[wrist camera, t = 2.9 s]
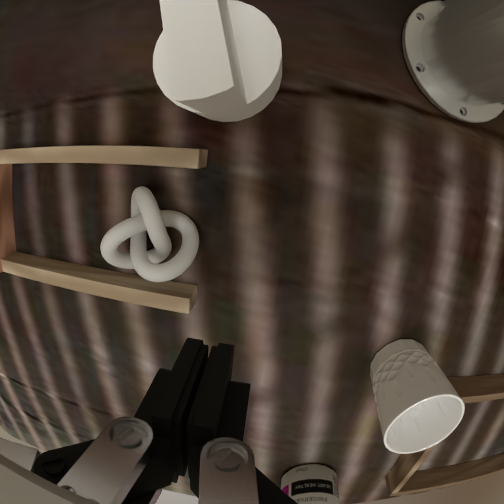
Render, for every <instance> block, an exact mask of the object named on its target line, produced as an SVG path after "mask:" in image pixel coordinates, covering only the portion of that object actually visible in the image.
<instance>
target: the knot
mask: <svg viewBox="0 0 504 504" xmlns="http://www.w3.org/2000/svg"><path fill="white" fill-rule="evenodd" d="M166 227H173V228H176V229H178V230H179V231H180V233H181V235H182V245H181V248H180V250H179V251H178V253H177V254H176V255H175V256H174V257H173V258H172V259H171V260H169V261H168V262H165V263H162V264H158V263H160V262H162V261H163V260H165V259H166V258H167V257H168V256H169V254H170V252H171V249H172V244H171V240H170V238H169V236H168V233H167V230H166ZM146 230H147V232H148V235H149V237H150V239H151V241H152V243H153V245H154V247H155V248H153V249H151V250H149V251H147V249H146ZM130 237H131V240H130V253H126V252H122V251H120V250H118V249H117V247H118V246H119V245H120V244H121V243H122V242H123V241H125V240H126V239H128V238H130ZM198 247H199V234H198V230H197V228H196V226H195V224H194V223H193V221H192V220H191V219H190V218H189V217H187V216H186V215H184V214H183V213H180V212H177V211H173V210H159V207H158V204H157V202H156V200H155V198H154V196H153V194H152V192H151V191H150V190H149V189H148V188H146V187H143V186H142V187H138V188H136V189H135V190H134V192H133V194H132V198H131V218H129V219H126V220H124V221H122V222H120V223H119V224H117V225H115V226H114V227H112V228H111V229H110V230H109V231H108V232H107V233H106V234H105V236H104V237H103V239H102V242H101V253H102V256H103V258H104V259H105V260H106V261H107V262H108V263H110V264H111V265H113V266H116V267H119V268H125V269H135V270H136V272H137V273H138V274H139V275H140V276H141V277H143V278H144V279H146V280H149V281H152V282H165V281H169V280H171V279H174V278H176V277H178V276H179V275H181V274H182V273H183V272H184V271H185V270H186V269H187V268H188V267H189V266H190V265H191V263H192V262H193V260H194V258H195V256H196V254H197V251H198Z"/></svg>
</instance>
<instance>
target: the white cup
mask: <svg viewBox="0 0 504 504" xmlns="http://www.w3.org/2000/svg"><path fill="white" fill-rule="evenodd" d="M370 378H371V382H372V386H373V393H374V398H375V403H376V408H377V412H378V417H379V421H380V426H381V430H382V435H383V440H384V444H385V446H386V447H387V449H389V450H390V451H392V452H395V453H400V454H409V453H415V452H419V451H422V450H425V449H427V448H430V447H432V446H434V445H436V444H437V443H439V442H440V441H442V440H443V439H445V438H446V437H447V436H448V435H449V434H450V433H452V432H453V430H454V429H455V428H456V427H457V426H458V424H459V423H460V421H461V419H462V417H463V414H464V409H465V407H464V403H463V401H462V399H461V398H460V396H459V395H458V393H457V392H456V390H455V389H454V387H453V386H452V384H451V383H450V381H449V380H448V378H447V377H446V375H445V374H444V372H443V371H442V370H441V369H440V367H439V366H438V365H437V363H436V362H435V361H434V359H433V358H432V357H431V356H430V355H429V354H428V352H427V351H426V350H425V348H424V347H423V345H422V344H420V343H418V342H417V341H415V340H413V339H399V340H397V341H394V342H392V343H389V344H387V345H386V346H385V347H383V348H382V349H381V350H380V351H379V352H377V353H376V355H375V357H374V359H373V360H372V362H371V364H370Z"/></svg>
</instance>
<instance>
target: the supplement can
mask: <svg viewBox="0 0 504 504" xmlns="http://www.w3.org/2000/svg"><path fill="white" fill-rule="evenodd" d="M281 490H282V491H283V492H285V493H286V494H287V495H288V496H289V497H291V498H292V499H293V500H294V501H296V502H297V503H298V504H339V493H338V483H337V474H336V473H335V472H334V470H332V469H330V468H328V467H326V466H323V465H318V464H308V465H302V466H298V467H295V468H293V469H291V470H290V471H288V472H287V473H286V474H284V476H283V477H282V479H281Z"/></svg>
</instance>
